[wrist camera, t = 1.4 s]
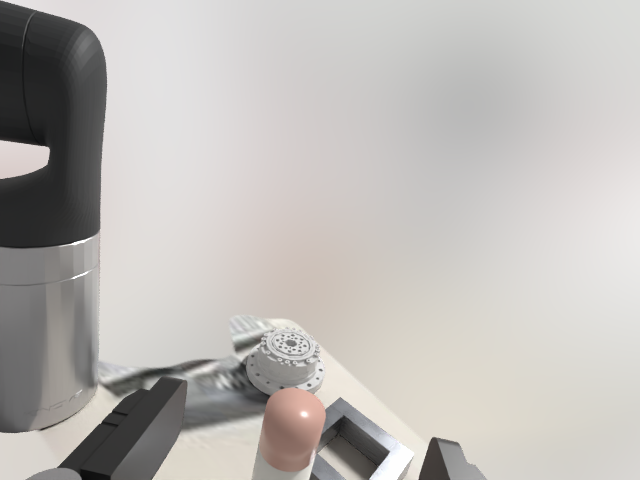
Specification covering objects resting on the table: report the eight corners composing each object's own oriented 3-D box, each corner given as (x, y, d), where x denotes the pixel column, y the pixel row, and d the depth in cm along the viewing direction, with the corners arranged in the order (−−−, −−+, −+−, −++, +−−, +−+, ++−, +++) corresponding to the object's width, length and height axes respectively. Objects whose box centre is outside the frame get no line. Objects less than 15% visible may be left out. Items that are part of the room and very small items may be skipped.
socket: (278, 464, 32) (282, 443, 31) (335, 414, 39) (340, 397, 38) (357, 546, 27) (365, 524, 26) (406, 472, 34) (414, 453, 33)
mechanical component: (236, 392, 39) (321, 409, 40) (241, 360, 38) (329, 378, 38) (255, 341, 49) (324, 355, 49) (260, 314, 47) (330, 329, 48)
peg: (229, 531, 26) (253, 405, 22) (269, 495, 29) (295, 379, 25) (265, 578, 24) (297, 447, 20) (303, 534, 27) (337, 413, 23)
